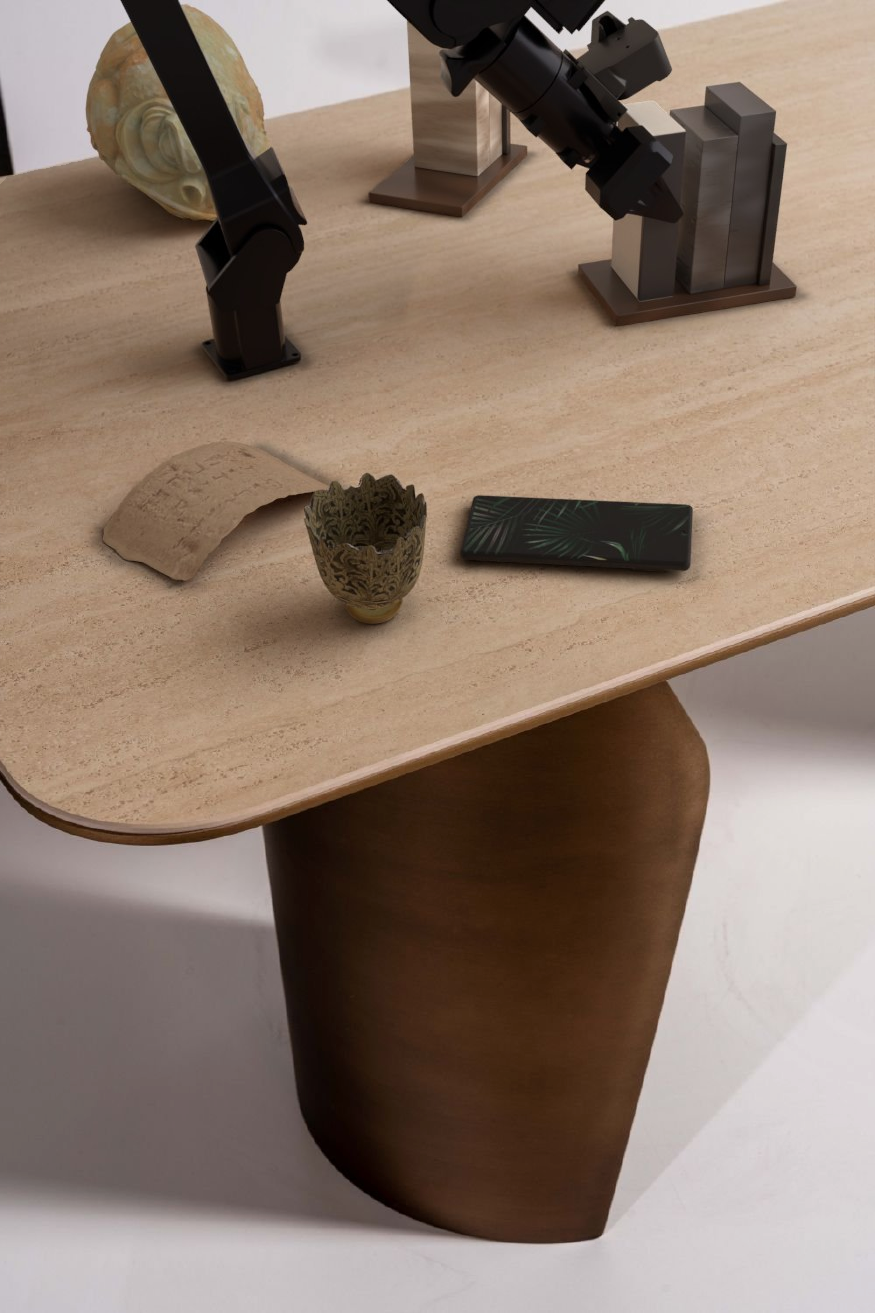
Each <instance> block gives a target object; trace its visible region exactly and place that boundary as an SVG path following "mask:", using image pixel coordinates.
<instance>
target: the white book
mask: <svg viewBox="0 0 875 1313" xmlns="http://www.w3.org/2000/svg"><path fill="white" fill-rule="evenodd" d="M622 104H623V105H624V106H625V107H626V108H627V109H628V110H627V111H626V113H625V114H624V115H623V116H622V117H621V118H620V119H619V121H618V122H617V126H618V127H619V128H620V129H621V130H622V131H623V130H624V129H625V128H626V127H632V126H639V125H643V126H644V127H645V128H646V129H647V130H648V131H649V132H650V133H651V134H652V135H653V136H654V137H655V138H656V139H657V140H658V141H659V142H660V143H661V144H662V145H663V146H664V147H665V148H666V149H667V150H668V151H669V152H670V153H671V154H672V155H673V156H674V157H673V160H672V163H671V165H670V167H669V168H668V169H667V170H666V171H665V172H664V173H663V174H662V175H661V176H662V177H663V179H664V181H665V183H666V184H667V186H668V188H669V189H670V191H671V192H672V194H673V196H674V197H675V199H676V201H677V202H678V204H679V206H680V204H681V191H682V178H683V165H684V152H685V139H686V131H685V129H683V128H682V127H681V126H680V125H679V124H678V123H677V122H676V121H675V120H674V119H673V118H672V117H671V116H670V114H669V113H667V111H665V110H664V109H663V108H662V107H661V106H660V105H659V104H658V103H657V102H655V100H654V99H650V100H643V101H636V102H627V103H622ZM678 230H679V220H678V221H677V222H676V223H670V222H665V221H661V220H656V219H652V218H647V217H642V216H638V215H632V214H626V215H625V216H624V218H622V219H619V220H616V221H615V220H614V219H613V218H612V236H611V237H612V238H611V239H612V241H611V258H610V259H611V267H612V268H613V270H614V271H615V272H616V273H617V275H618V276H619V277H620V278H621V279H622V281H623V282H624V283H625V284H626V286H627V287H628V288H629V289H630V291H631V292H632V293H633V294H634V296H635V297H636V298H637V299H638V301H639V302H643V301H649V300H656V299H662V298H668V297H673V295H674V282H675V269H676V256H677V243H678Z"/></svg>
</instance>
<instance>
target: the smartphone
mask: <svg viewBox="0 0 875 1313" xmlns="http://www.w3.org/2000/svg"><path fill="white" fill-rule="evenodd" d="M693 509H694V508H693V506H691V505H690V504H683V503H664V502H663V503H661V502H660V503H659V502H639V501H615V500H595V499H594V500H593V499H575V498H574V499H571V498H552V497H551V498H549V497H529V496H528V497H527V496H507V495H506V496H505V495H504V496H503V495H483V494H480V495H475V496H473V498H472V501H471V505H470V510H469V514H468V518H467V520H466V525H465V530H464V534H463V538H462V542H461V546H460V550H459V555H460V558H461V559H463V560H465V561H480V562H482V561H483V562H498V563H499V562H500V563H517V564H519V563H520V564H539V565H556V566H557V565H559V566H577V567H578V566H579V567H596V568H597V567H598V568H614V569H616V568H617V569H633V571H644V572H646V571H647V572H663V573H665V572H666V571H674V572H686V571H688V570H689V569H690V568H691V561H692V560H691V559H692V540H693V539H692V537H693V516H694V513H693V512H694V510H693Z"/></svg>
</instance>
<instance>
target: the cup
mask: <svg viewBox="0 0 875 1313" xmlns="http://www.w3.org/2000/svg"><path fill="white" fill-rule="evenodd" d="M358 482H359V483H358V485H357V487H355V486H353V485H349V486H348V487H347V488H345V489H344V487H342V482H341V481H339V480H333V481H331V482H330V484H329V486H330V487H329V490H324V489H321V490H317V491H314V492H313V493H312V495H311V499H310V503H309V504H310V505H304V506H303V507H304V508H303V512H304V515H305V517H304V518H303V523H304V526H305V527H306V531H307V534H308V538H309V542H310V546H311V547H310V548H311V550H312V554H313V557H314V562H315V564H316V568H317V571H318V573H319V576H320V578H321V580H322V582H323V584H324V586H325V587H326V589H327V591H328V592H329V593H330V594H331V595H332V596H333V597H334V598H335V599H337V600H338V601H339V602H341V603H343V604H344V607H345V609H346V611H347V612H348V614H349V615H350V616H351V617H352V618H353V619H354V620H356V621H358V622H360V623H364V624H369V625H376V624H382V623H385V622H388V621H390V620H392V619H394V617H395V616H397V614H398V613H399V611H400V609H401V607H402V606H403V602H404V601H403V600H404V598H405V597H407V595H408V594H410V592H411V591H412V590H413V588H414V587H415V585H416V583H417V582H418V580H419V577H420V574H421V571H422V565H423V561H424V554H425V543H426V527H427V517H428V504H427V503H428V502H427V500H426V499H425V495H424V493H423V492H420V493H419V494H418V495H417V496H416V489H415V488H416V487H415V485H414V484H408V485H406V486H405V487H403V485H402V482H401V481H400V480H399V479H398V478H397V477H396V476H395V475H394V474H387V475H386V474H385V475H384V476H382V477H380V478H378V479H376V478H375V476H374V475H373V474H372V473H370V472H365V473H363V474H362V475H361V477H360V478H359V481H358Z"/></svg>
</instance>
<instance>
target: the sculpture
mask: <svg viewBox="0 0 875 1313" xmlns="http://www.w3.org/2000/svg"><path fill="white" fill-rule="evenodd" d="M181 6H182V8H183V10H184V12H185V15H186V17H187V19H188V21H189V23H190V25H191V27H192V30H193V32H194V34H195V36H196V38H197V40H198V42H199V45H200V47H201V49H202V51H203V53H204V55H205V57H206V60H207V62H208V64H209V66H210V68H211V70H212V72H213V75H214V77H215V79H216V81H217V83H218V85H219V87H220V90H221V92H222V94H223V96H224V98H225V100H226V103H227V105H228V107H229V109H230V111H231V113H232V115H233V118H234V120H235V122H236V124H237V126H238V128H239V130H240V133H241V135H242V136H243V138H244V139H245V141H246V142H247V143H248V145H249V146H250V147H251V148H252V150H253V151H254V152H255V153H256V155H257V156H259V155H260V154H262V153H263V152H265V151H266V150H268V149H269V148H270V140H269V139H268V137H267V133H268V132H267V131H266V130H265V123H264V121H265V120H264V116H265V108H264V103H263V102H264V101H263V99H262V93H261V92H260V90H259V87H258V85H257V83H256V82H255V80H254V79H253V77H252V76H251V74H250V71H249V70H248V68H247V65H246V63H245V60H244V58H243V56H242V54H241V52H240V51H239V49H238V47H237V45H236V43H235V41H234V40H233V38H232V37H231V36H230V34H229V33H228V32H227V31H226V30H225V29H224V28H223V26H221V25H220V24H219V23H218V22H217V21H216V20H215V19H213V18H212V17H211V16H210V15H208V14H207V13H205V12H203V11H202V10H200V9H198V8H197V7H195V6H191V5H190V4H188V3H185V4H182V3H181ZM85 119H86V125H87V126H86V131H87V133H89V137H90V144H91V146H92V148H93V149H94V151H96V152H97V154H98V158H99V160H101V161H103V162H104V163H105V164H106V166H108V168H109V169H110V170H111V171H112V172H114V173H115V174H116V175H117V176H118V177H120V178H121V179H122V180H124V181H126V182H127V183H129V184H131V185H132V186H134V187H135V188H136V189H138V190H139V191H141V192H142V193H144V194H145V195H147V196H148V197H149V198H150V199H152V200H153V201H155V202H156V203H157V204H159V205H160V206H161V207H162V208H163V209H164V210H166V212H167V213H169V214H171V215H173V216H175V217H177V218H179V219H183V220H186V219H191V220H192V221H200V220H206V221H211V222H214V220H215V219H216V218H217V214H216V211H215V208H214V204H213V201H212V197H211V194H210V190H209V187H208V183H207V180H206V176H205V172H204V169H203V166H202V164H201V162H200V160H199V158H198V156H197V154H196V152H195V150H194V148H193V146H192V144H191V142H190V140H189V138H188V136H187V134H186V132H185V130H184V128H183V126H182V124H181V122H180V120H179V118H178V116H177V114H176V112H175V110H174V108H173V106H172V104H171V102H170V100H169V98H168V96H167V94H166V92H165V90H164V87H163V85H162V83H161V81H160V79H159V77H158V75H157V73H156V71H155V69H154V67H153V65H152V63H151V61H150V59H149V57H148V55H147V53H146V51H145V49H144V47H143V45H142V43H141V41H140V39H139V37H138V35H137V33H136V31H135V29H134V27H133V25H132V23H131V21H130V22H128V23H126V24H124V25H123V26H121V27H120V28H118V29H116V30H115V31H114V32H113V33H112V34H111V35H110V37H109V38H108V40H107V42H106V44H105V45H104V47H103V49H102V51H101V53H100V54H99V58H98V60H97V62H96V65H95V70H94V72H93V74H92V76H91V79H90V81H89V84H88V89H87V93H86V101H85Z"/></svg>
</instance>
